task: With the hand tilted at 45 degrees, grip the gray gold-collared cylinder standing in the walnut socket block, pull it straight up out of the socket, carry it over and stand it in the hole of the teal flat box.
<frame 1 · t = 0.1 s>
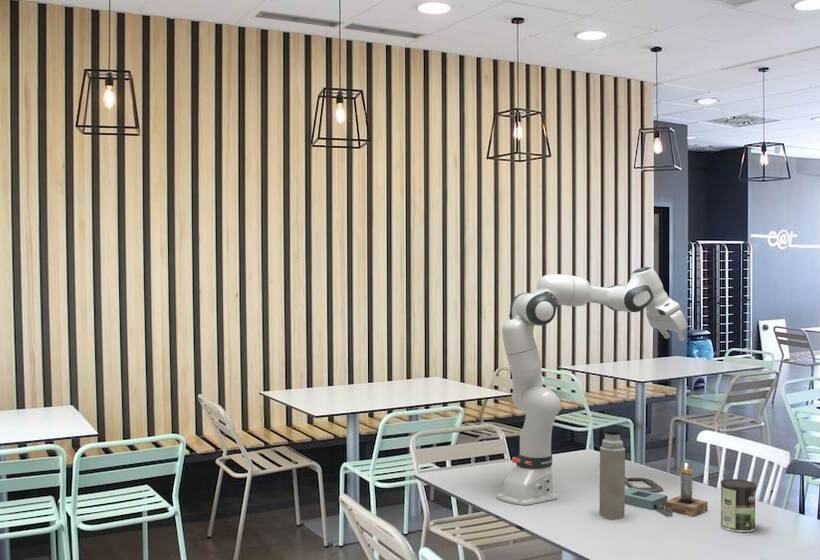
hand: (674, 338, 317), 54 cm above the table, tool tilted 30°, fingers open, 8 cm apart
gray gold-collared cylinder: (686, 486, 284), in the socket block
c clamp: (636, 489, 313), on the table
drift key: (663, 512, 282), on the table
teal flat box: (641, 502, 293), on the table
coffee can: (737, 528, 266), on the table
thermos bottle: (611, 516, 278), on the table
socket block: (686, 510, 284), on the table
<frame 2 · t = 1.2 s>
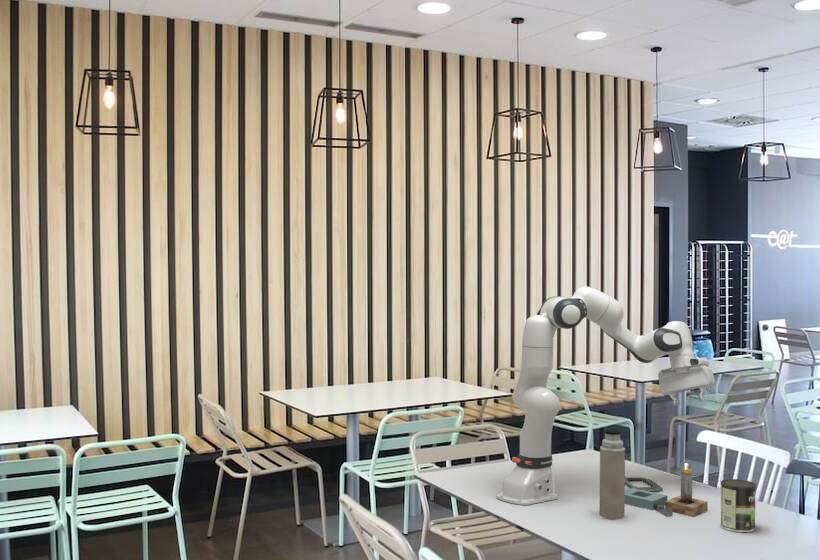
hand: (689, 402, 305), 32 cm above the table, tool tilted 20°, fingers open, 8 cm apart
nothing on the table moved.
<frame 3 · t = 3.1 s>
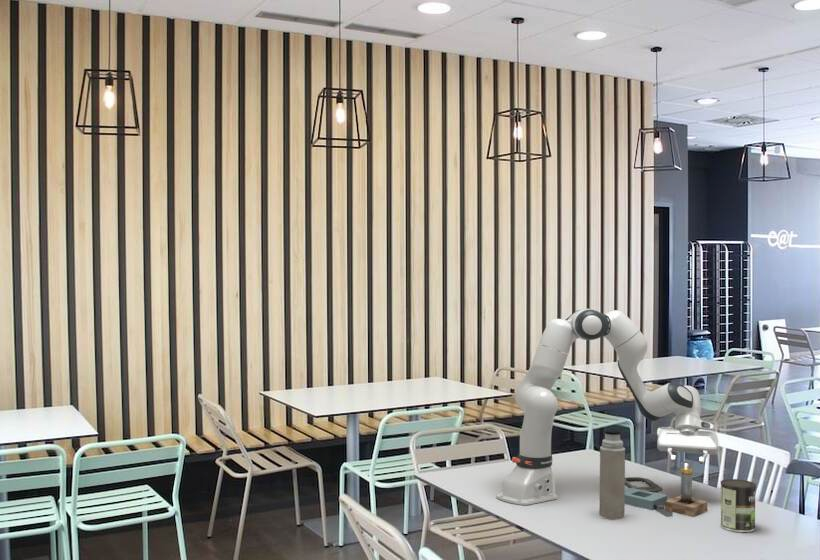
hand: (687, 462, 290), 15 cm above the table, tool tilted 45°, fingers open, 8 cm apart
nothing on the table moved.
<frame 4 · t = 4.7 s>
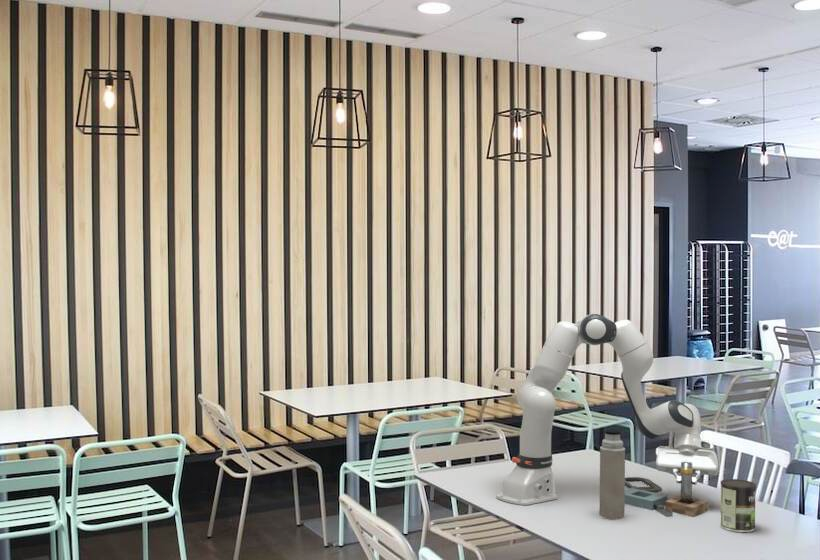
hand: (686, 483, 283), 9 cm above the table, tool tilted 45°, fingers closed on gray gold-collared cylinder, 4 cm apart
gray gold-collared cylinder: (686, 486, 284), in the socket block, touching gripper
everything else where it was.
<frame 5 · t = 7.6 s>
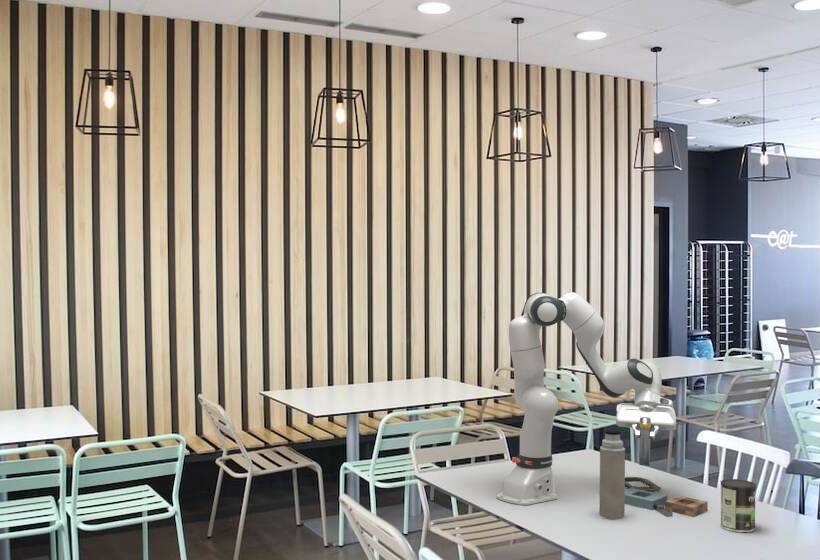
hand: (644, 437, 291), 23 cm above the table, tool tilted 45°, fingers closed on gray gold-collared cylinder, 4 cm apart
gray gold-collared cylinder: (644, 441, 291), point 22 cm above the table, touching gripper
everything else where it was.
when the fingers open (11 cm above the table, at t = 10.4 s): gray gold-collared cylinder drops 1 cm, resting in teal flat box.
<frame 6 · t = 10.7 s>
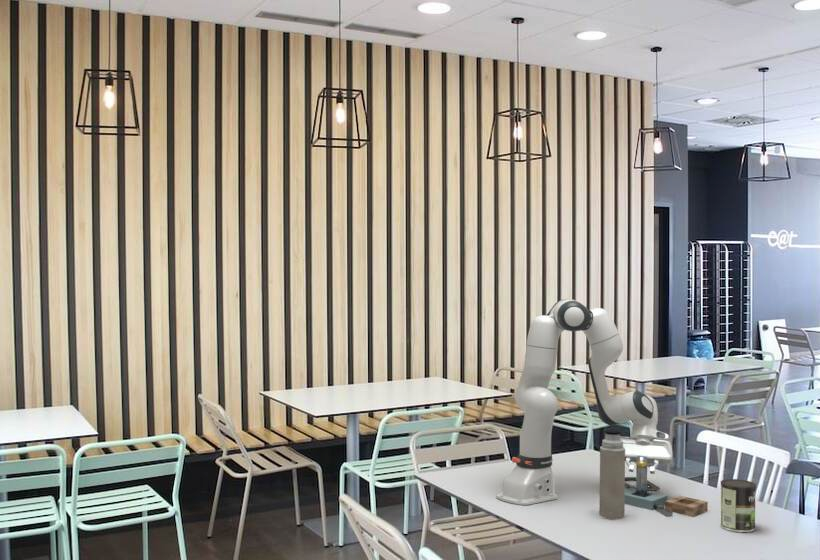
hand: (641, 471, 292), 11 cm above the table, tool tilted 45°, fingers open, 6 cm apart
gray gold-collared cylinder: (641, 479, 293), in the teal flat box
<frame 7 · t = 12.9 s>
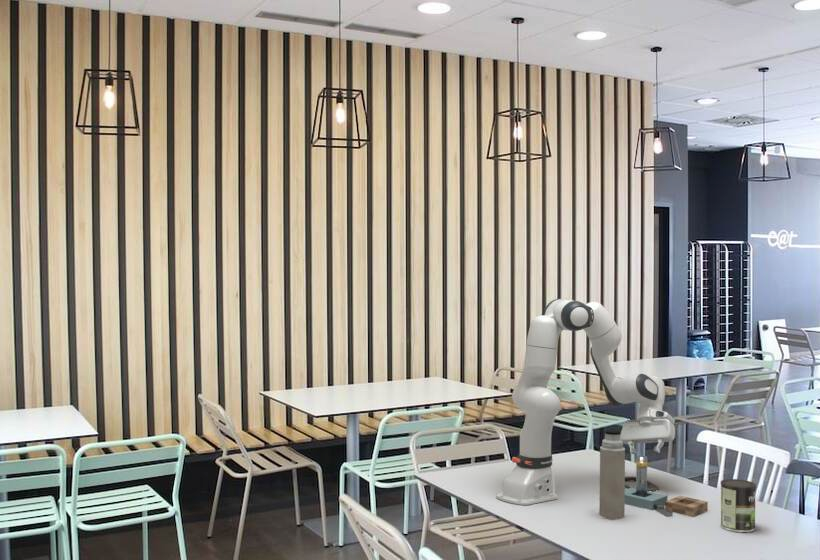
hand: (644, 452, 305), 15 cm above the table, tool tilted 35°, fingers open, 8 cm apart
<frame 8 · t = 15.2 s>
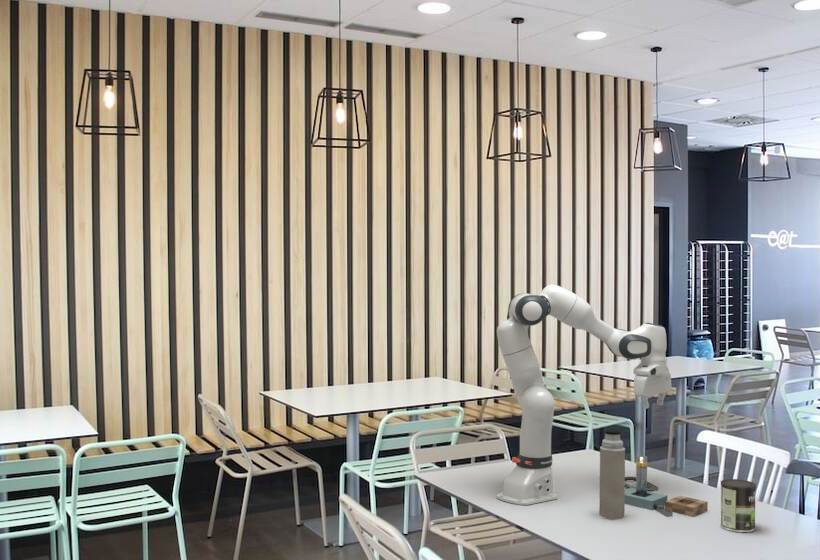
hand: (653, 406, 305), 31 cm above the table, tool pointing down, fingers open, 8 cm apart
at the end: gray gold-collared cylinder 0.0 cm off-centre on the teal flat box, point 8.0 cm above the teal flat box's base; gray gold-collared cylinder tilted 0°; the gripper is holding nothing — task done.
